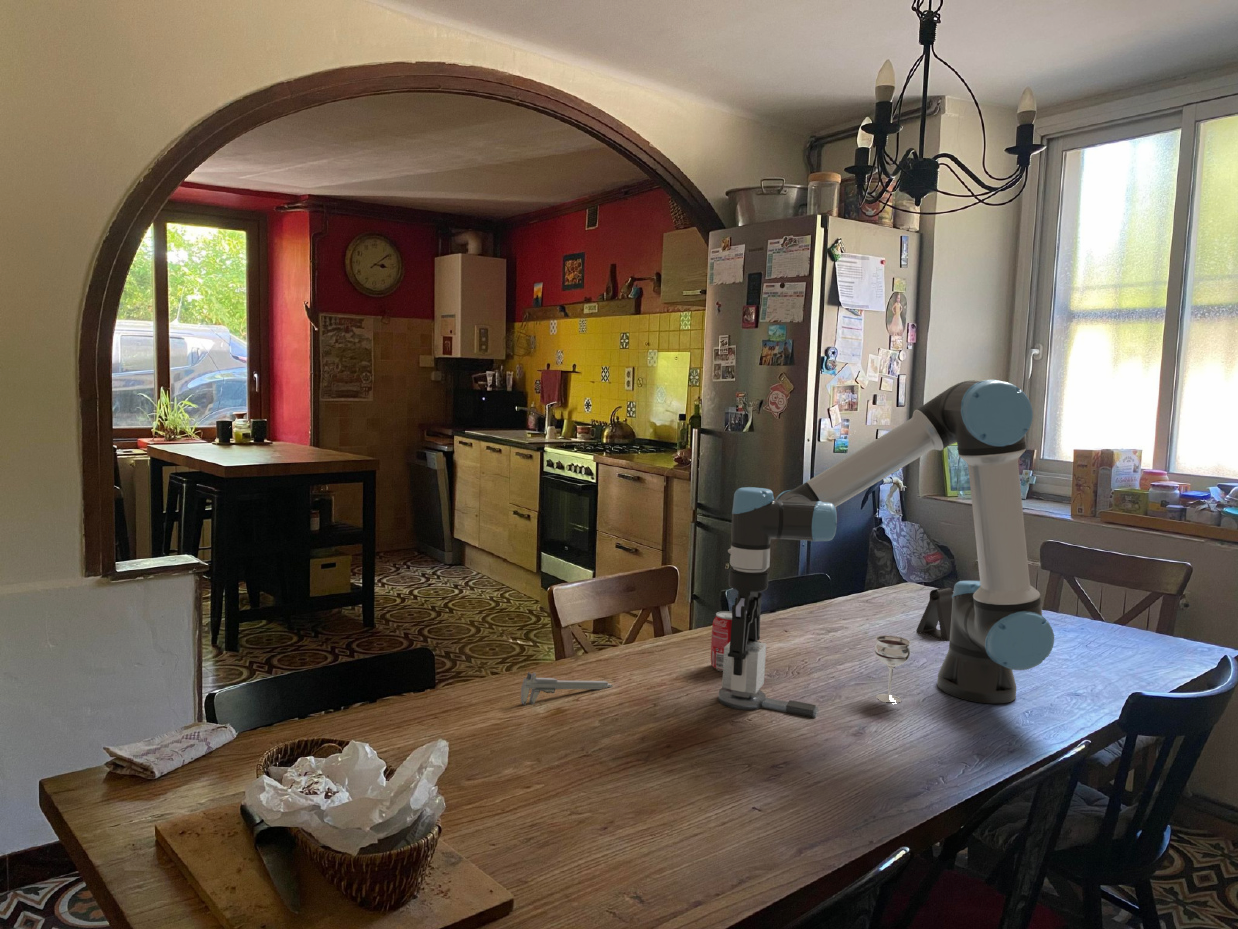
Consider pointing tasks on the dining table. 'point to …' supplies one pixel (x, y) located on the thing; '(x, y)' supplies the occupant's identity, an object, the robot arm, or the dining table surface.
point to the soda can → (720, 637)
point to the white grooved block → (754, 666)
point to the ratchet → (764, 703)
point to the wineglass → (891, 659)
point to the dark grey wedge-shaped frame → (937, 614)
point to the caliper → (554, 686)
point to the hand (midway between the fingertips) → (742, 684)
